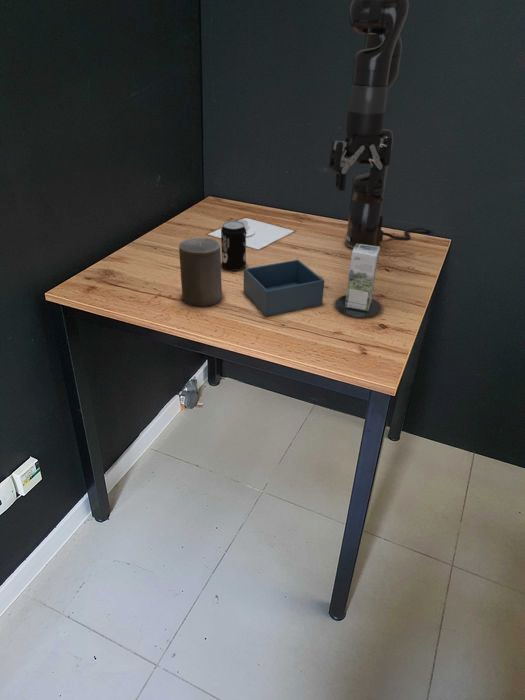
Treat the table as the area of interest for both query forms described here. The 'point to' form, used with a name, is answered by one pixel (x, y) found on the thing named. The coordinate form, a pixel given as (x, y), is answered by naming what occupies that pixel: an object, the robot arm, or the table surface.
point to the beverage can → (233, 245)
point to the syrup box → (362, 276)
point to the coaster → (355, 313)
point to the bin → (283, 287)
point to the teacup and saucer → (259, 233)
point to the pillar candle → (200, 271)
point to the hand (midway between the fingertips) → (356, 187)
